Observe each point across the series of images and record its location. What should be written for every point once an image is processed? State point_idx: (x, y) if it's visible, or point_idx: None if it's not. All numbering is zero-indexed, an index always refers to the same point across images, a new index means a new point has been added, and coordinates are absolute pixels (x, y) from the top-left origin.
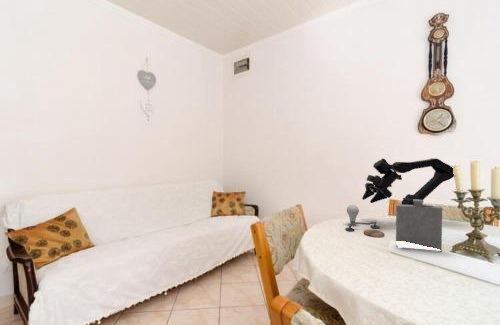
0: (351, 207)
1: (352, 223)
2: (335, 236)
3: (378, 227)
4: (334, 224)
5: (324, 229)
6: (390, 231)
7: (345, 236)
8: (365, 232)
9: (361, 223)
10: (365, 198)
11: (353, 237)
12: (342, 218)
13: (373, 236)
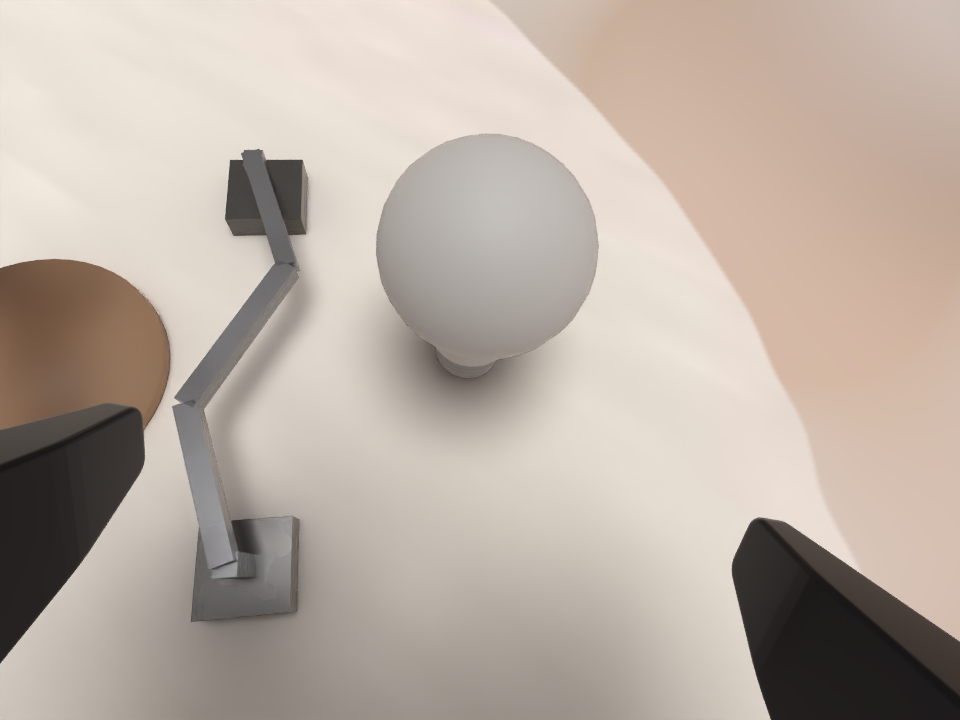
0: (435, 147)
1: (260, 190)
2: (169, 12)
3: (197, 595)
4: None
5: (389, 27)
6: (23, 699)
7: (129, 79)
8: (84, 277)
9: (242, 315)
10: (760, 652)
11: (68, 124)
12: (778, 399)
13: None
